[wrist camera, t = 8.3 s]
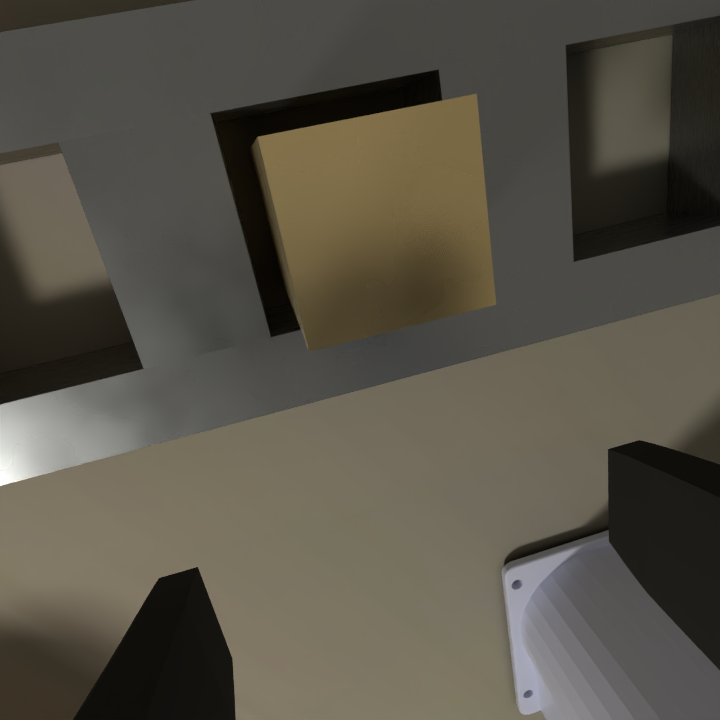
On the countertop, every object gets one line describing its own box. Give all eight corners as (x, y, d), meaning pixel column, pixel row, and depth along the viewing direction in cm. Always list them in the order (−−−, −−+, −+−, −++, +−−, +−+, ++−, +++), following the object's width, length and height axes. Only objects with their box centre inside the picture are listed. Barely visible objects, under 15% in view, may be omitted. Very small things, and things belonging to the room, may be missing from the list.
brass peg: (401, 253, 17) (496, 304, 11) (282, 281, 17) (309, 351, 11) (381, 122, 16) (476, 94, 10) (249, 149, 15) (257, 136, 9)
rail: (717, 258, 20) (793, 274, 17) (-70, 461, 16) (-132, 521, 14) (739, -60, 16) (840, -107, 14) (-274, 114, 13) (-415, 100, 10)
